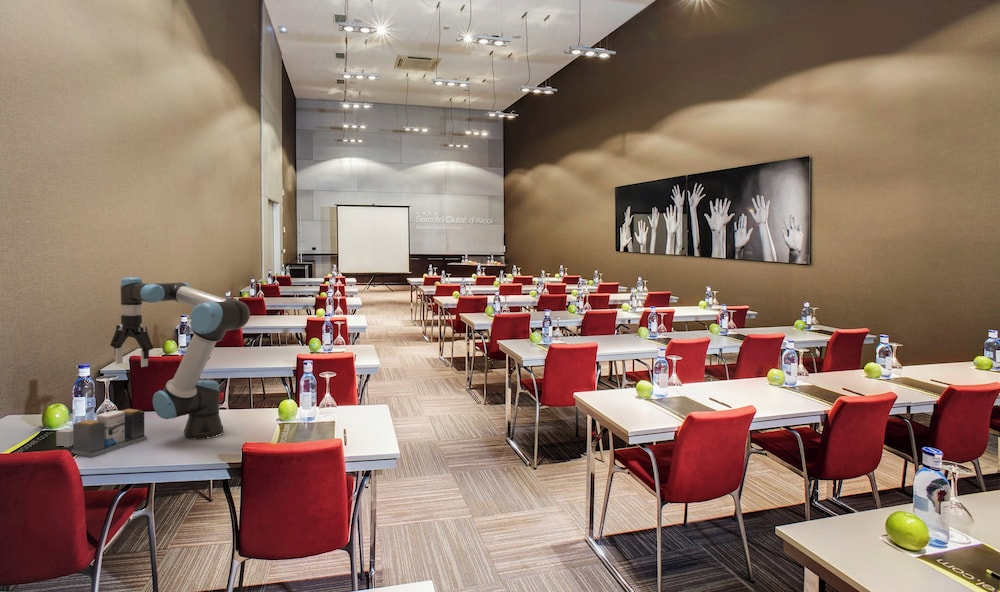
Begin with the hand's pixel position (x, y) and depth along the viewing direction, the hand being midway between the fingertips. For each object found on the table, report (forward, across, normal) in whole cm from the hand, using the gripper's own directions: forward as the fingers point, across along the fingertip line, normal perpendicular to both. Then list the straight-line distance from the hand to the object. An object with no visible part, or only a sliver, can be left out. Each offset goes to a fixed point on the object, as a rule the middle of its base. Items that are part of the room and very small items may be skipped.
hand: (131, 365), depth 258 cm
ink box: (+27, -8, +17) cm, 33 cm away
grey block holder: (+29, -8, +17) cm, 34 cm away
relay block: (+29, +8, +22) cm, 37 cm away
